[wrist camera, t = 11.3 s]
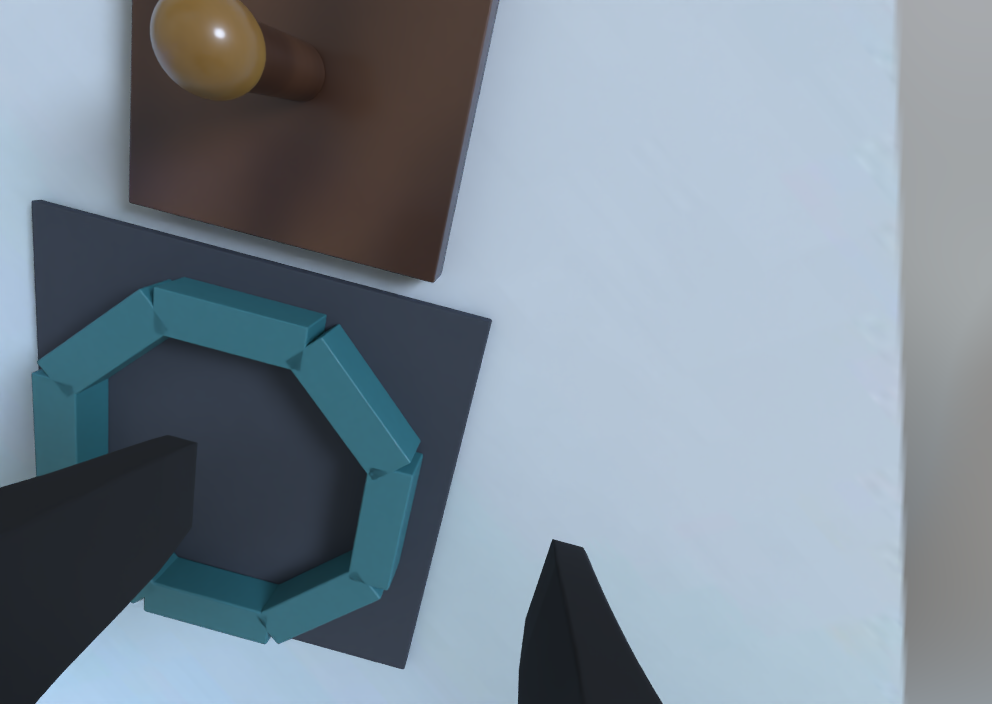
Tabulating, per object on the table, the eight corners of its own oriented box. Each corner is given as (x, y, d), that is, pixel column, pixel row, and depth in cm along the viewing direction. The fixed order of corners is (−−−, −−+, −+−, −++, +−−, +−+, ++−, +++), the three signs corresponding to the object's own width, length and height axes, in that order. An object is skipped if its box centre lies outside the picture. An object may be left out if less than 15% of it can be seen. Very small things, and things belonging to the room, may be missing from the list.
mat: (54, 564, 25) (46, 571, 25) (41, 199, 20) (30, 200, 19) (406, 662, 25) (403, 670, 25) (492, 319, 19) (490, 322, 19)
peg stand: (153, 199, 19) (-45, 223, 13) (164, -164, 16) (-97, -372, 10) (441, 275, 19) (382, 336, 13) (515, -75, 16) (486, -227, 9)
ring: (72, 556, 24) (40, 583, 23) (65, 244, 20) (24, 252, 18) (381, 642, 24) (369, 674, 23) (448, 346, 19) (438, 362, 18)
